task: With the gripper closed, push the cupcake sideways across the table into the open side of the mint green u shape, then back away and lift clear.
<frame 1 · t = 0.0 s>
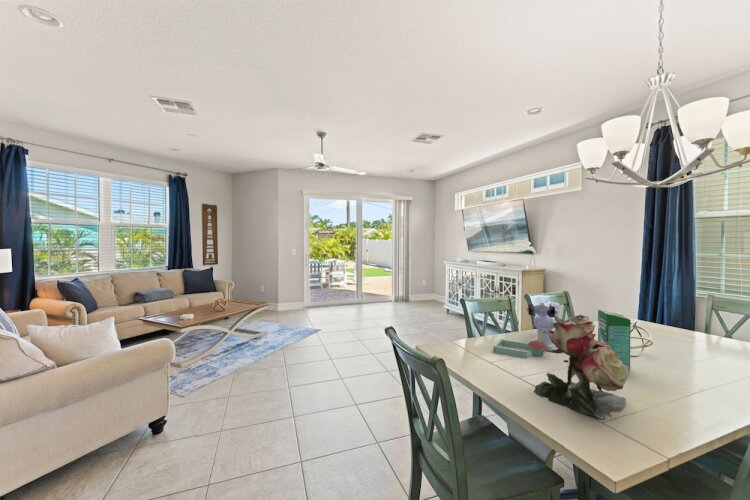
hand: (539, 312, 164), 22 cm above the table, tool horizontal, fingers open, 7 cm apart
mint green u shape: (514, 351, 172), on the table
cupcake: (537, 355, 165), on the table
rose bouquet: (584, 398, 121), on the table
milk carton: (613, 367, 149), on the table
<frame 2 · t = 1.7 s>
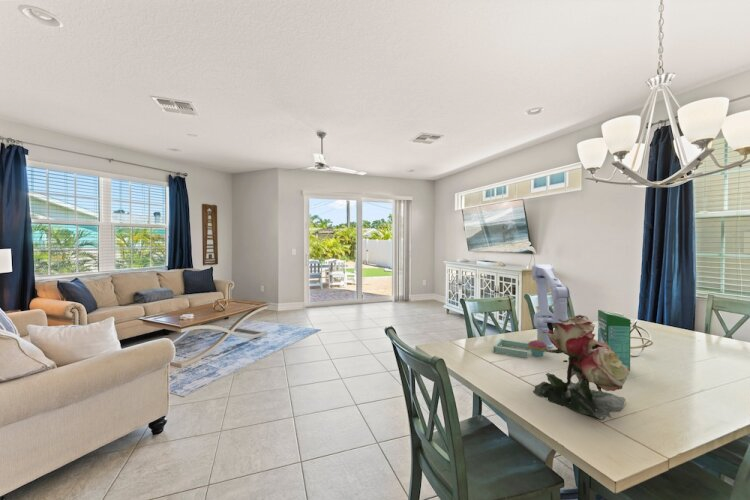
hand: (560, 339, 160), 9 cm above the table, tool pointing down, fingers open, 6 cm apart
nothing on the table moved.
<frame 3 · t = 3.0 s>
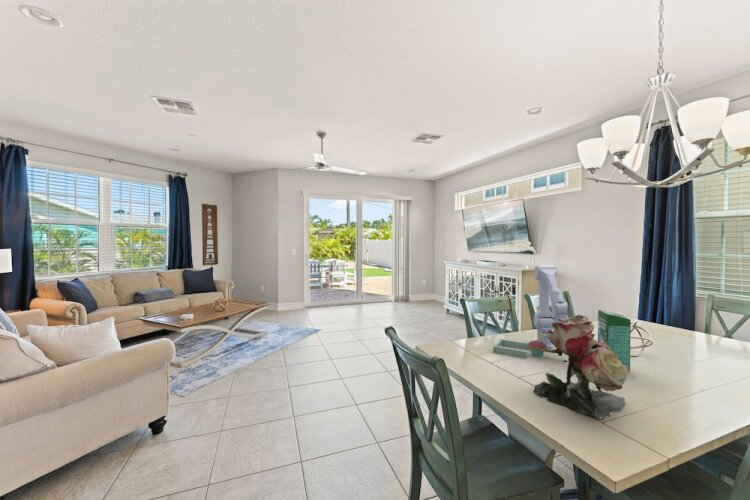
hand: (560, 355, 160), 2 cm above the table, tool pointing down, fingers closed
nothing on the table moved.
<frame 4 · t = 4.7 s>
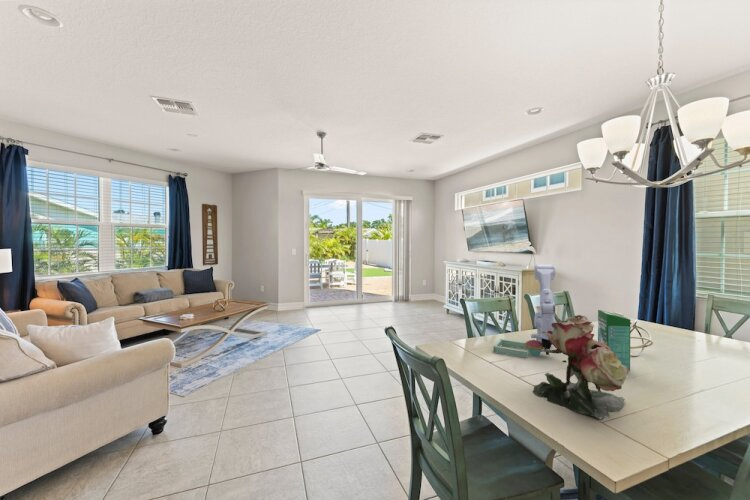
hand: (547, 354, 163), 1 cm above the table, tool pointing down, fingers closed
cupcake: (534, 354, 166), on the table, touching gripper
everything else where it was.
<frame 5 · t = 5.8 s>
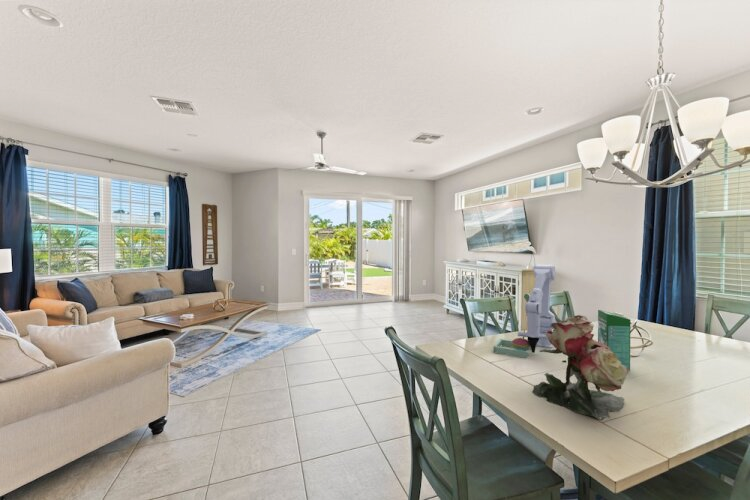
hand: (533, 352, 166), 1 cm above the table, tool pointing down, fingers closed
cupcake: (520, 352, 170), on the table, touching gripper
everything else where it was.
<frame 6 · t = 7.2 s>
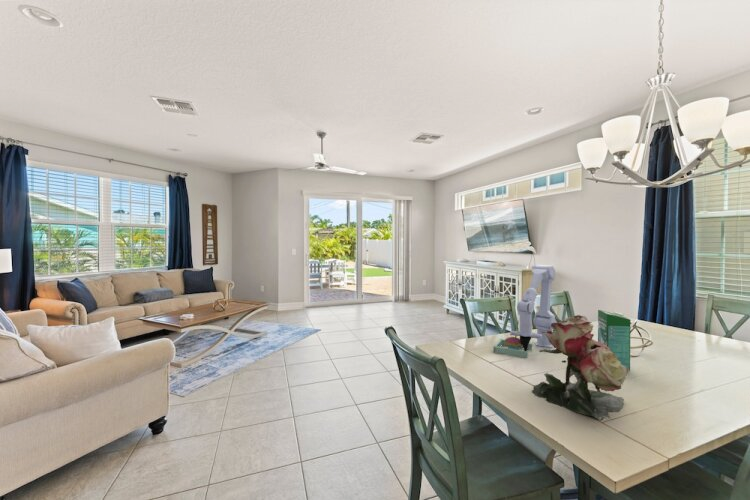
hand: (525, 350, 168), 1 cm above the table, tool pointing down, fingers closed
cupcake: (513, 351, 172), on the table, touching gripper
everything else where it was.
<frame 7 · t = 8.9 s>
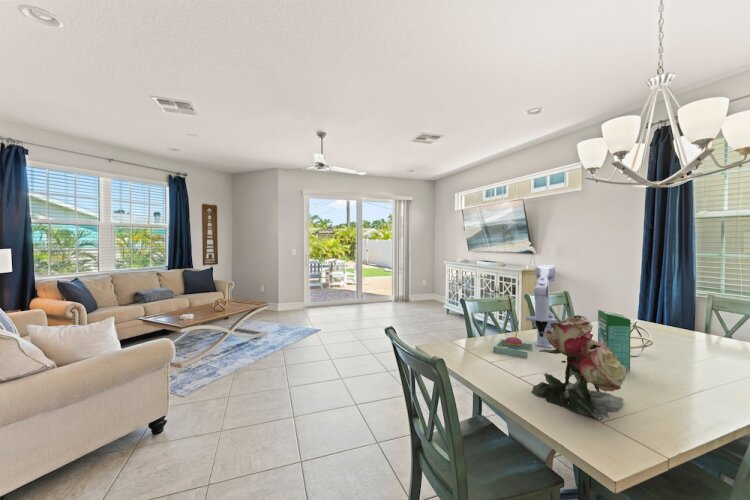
hand: (541, 336, 165), 9 cm above the table, tool pointing down, fingers closed
cupcake: (513, 351, 172), on the table
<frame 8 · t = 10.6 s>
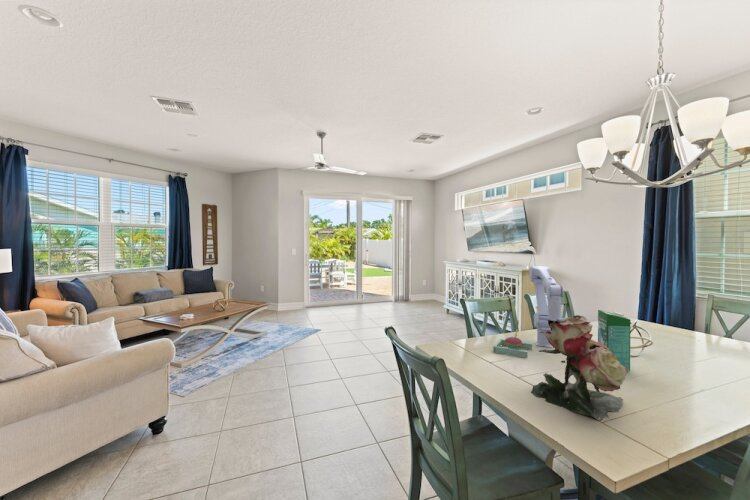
hand: (554, 335, 165), 9 cm above the table, tool pointing down, fingers closed
at the end: cupcake inside the target area on the mint green u shape (0.3 cm from its centre), point 0.0 cm above the mint green u shape's base; cupcake tilted 0°; cupcake moved 11.3 cm from its start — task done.
